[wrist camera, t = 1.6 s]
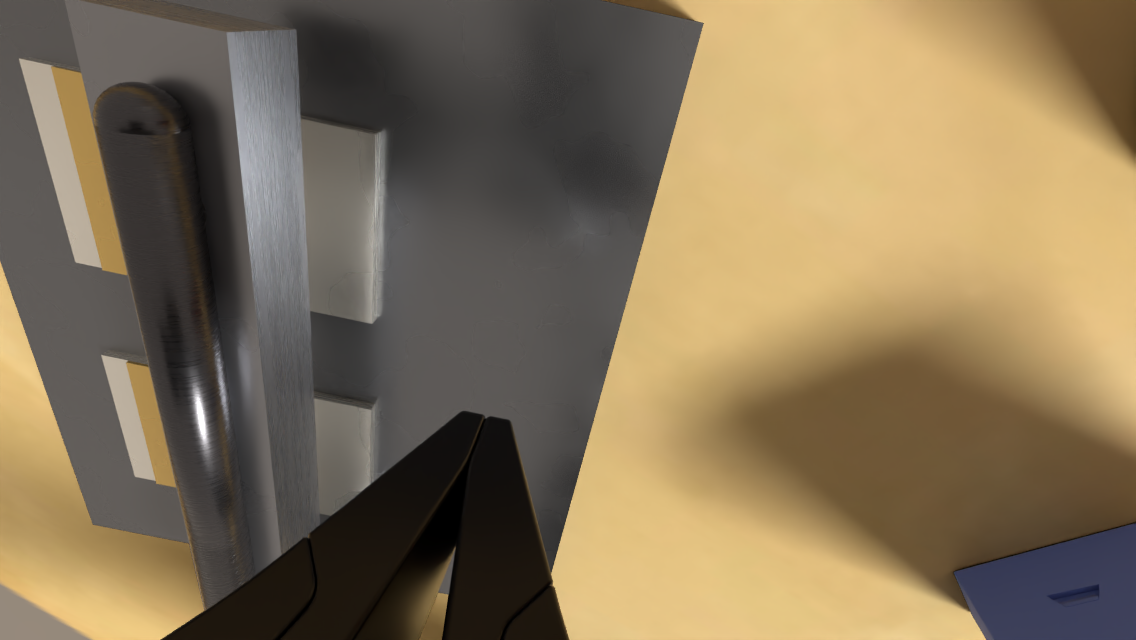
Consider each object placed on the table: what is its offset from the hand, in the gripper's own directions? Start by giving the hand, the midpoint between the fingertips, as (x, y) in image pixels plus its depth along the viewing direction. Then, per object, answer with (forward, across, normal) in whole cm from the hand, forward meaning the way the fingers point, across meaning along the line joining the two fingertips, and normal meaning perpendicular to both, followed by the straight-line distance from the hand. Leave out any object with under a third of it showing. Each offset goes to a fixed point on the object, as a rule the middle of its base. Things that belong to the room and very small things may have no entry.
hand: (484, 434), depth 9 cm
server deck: (+7, +6, +3) cm, 10 cm away
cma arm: (+4, +6, +5) cm, 9 cm away
